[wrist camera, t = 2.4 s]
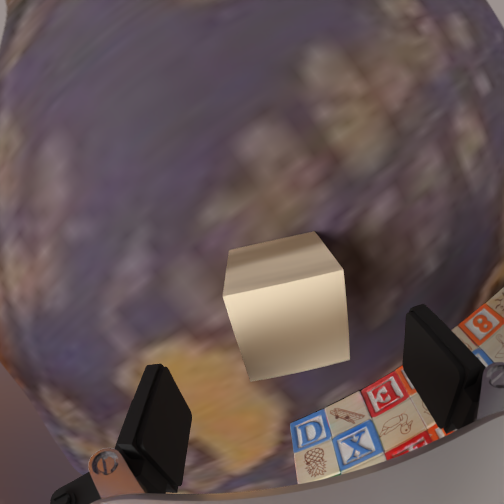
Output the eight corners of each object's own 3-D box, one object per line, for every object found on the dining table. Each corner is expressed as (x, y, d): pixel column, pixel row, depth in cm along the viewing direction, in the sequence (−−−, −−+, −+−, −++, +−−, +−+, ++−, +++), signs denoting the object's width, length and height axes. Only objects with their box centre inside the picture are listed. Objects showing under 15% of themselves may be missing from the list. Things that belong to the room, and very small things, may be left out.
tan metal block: (229, 249, 15) (222, 296, 11) (314, 231, 15) (343, 269, 10) (248, 321, 17) (250, 381, 12) (324, 304, 17) (349, 359, 12)
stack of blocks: (319, 449, 22) (341, 561, 11) (287, 421, 21) (306, 561, 9) (510, 327, 19) (583, 405, 7) (508, 279, 17) (606, 361, 5)
